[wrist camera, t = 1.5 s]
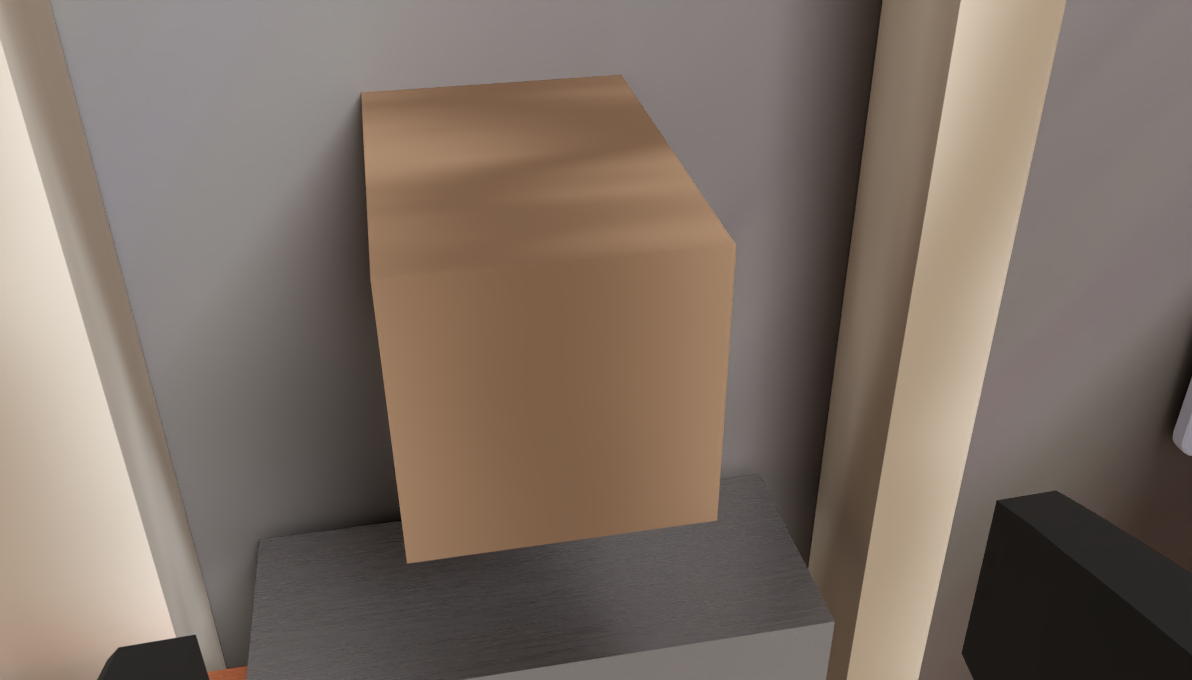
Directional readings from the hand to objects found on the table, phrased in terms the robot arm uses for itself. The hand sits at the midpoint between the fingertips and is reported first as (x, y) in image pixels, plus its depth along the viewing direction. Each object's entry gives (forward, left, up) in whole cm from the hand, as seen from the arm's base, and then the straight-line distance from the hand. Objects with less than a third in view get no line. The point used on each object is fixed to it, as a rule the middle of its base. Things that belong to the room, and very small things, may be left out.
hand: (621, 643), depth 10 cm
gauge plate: (+2, +9, -9) cm, 14 cm away
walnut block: (0, 0, -10) cm, 10 cm away
